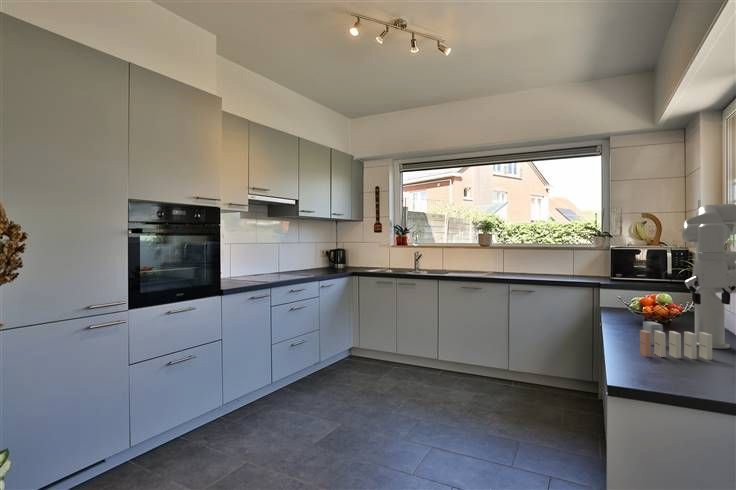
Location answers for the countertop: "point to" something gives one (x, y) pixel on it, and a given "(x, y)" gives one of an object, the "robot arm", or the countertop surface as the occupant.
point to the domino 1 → (645, 343)
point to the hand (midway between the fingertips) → (711, 303)
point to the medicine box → (652, 329)
